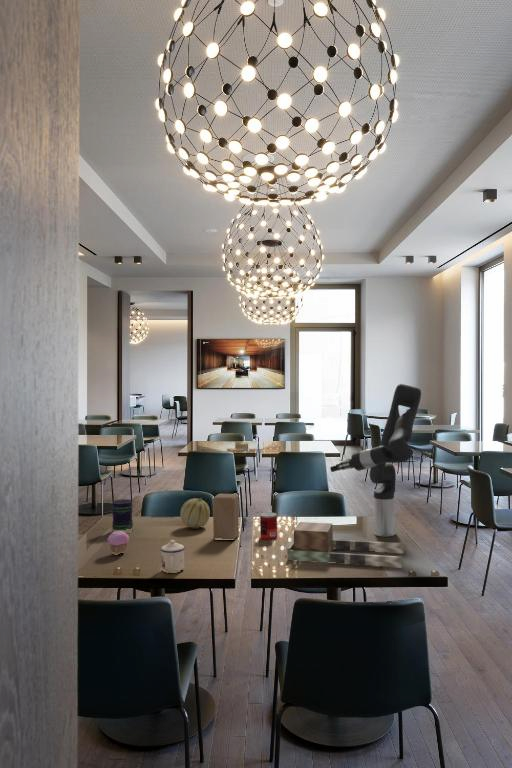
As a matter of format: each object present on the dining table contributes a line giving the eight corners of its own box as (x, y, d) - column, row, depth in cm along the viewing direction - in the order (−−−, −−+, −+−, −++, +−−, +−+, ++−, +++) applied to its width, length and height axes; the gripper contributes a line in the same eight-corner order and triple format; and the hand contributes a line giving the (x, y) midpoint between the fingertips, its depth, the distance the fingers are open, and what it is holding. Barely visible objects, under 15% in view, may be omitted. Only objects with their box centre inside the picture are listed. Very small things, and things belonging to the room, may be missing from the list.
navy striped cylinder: (110, 530, 296) (110, 500, 296) (130, 528, 301) (129, 498, 300) (114, 535, 287) (114, 504, 287) (135, 533, 292) (134, 502, 291)
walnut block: (332, 551, 255) (332, 523, 255) (328, 561, 242) (327, 531, 242) (300, 549, 259) (299, 521, 259) (293, 559, 245) (293, 530, 245)
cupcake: (122, 550, 262) (121, 527, 262) (133, 554, 256) (132, 530, 256) (104, 554, 256) (103, 531, 256) (115, 558, 250) (114, 534, 250)
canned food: (279, 536, 281) (278, 512, 281) (274, 540, 273) (273, 516, 273) (263, 535, 283) (263, 511, 283) (258, 539, 276) (257, 515, 276)
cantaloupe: (180, 525, 306) (180, 495, 305) (209, 523, 307) (209, 494, 307) (180, 532, 291) (179, 501, 291) (210, 531, 293) (210, 500, 292)
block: (234, 541, 273) (233, 497, 272) (213, 541, 275) (212, 497, 274) (239, 536, 282) (238, 493, 282) (218, 535, 284) (217, 493, 284)
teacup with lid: (162, 567, 238) (161, 537, 238) (185, 566, 239) (184, 537, 238) (159, 577, 226) (158, 546, 226) (183, 576, 227) (183, 545, 226)
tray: (403, 552, 251) (403, 540, 251) (402, 567, 231) (401, 554, 231) (297, 546, 263) (297, 535, 263) (287, 560, 243) (287, 548, 243)
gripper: (370, 449, 253) (337, 459, 263) (354, 452, 243) (320, 462, 253) (375, 466, 252) (342, 476, 262) (360, 470, 241) (325, 480, 252)
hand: (331, 469), depth 257 cm, fingers closed
